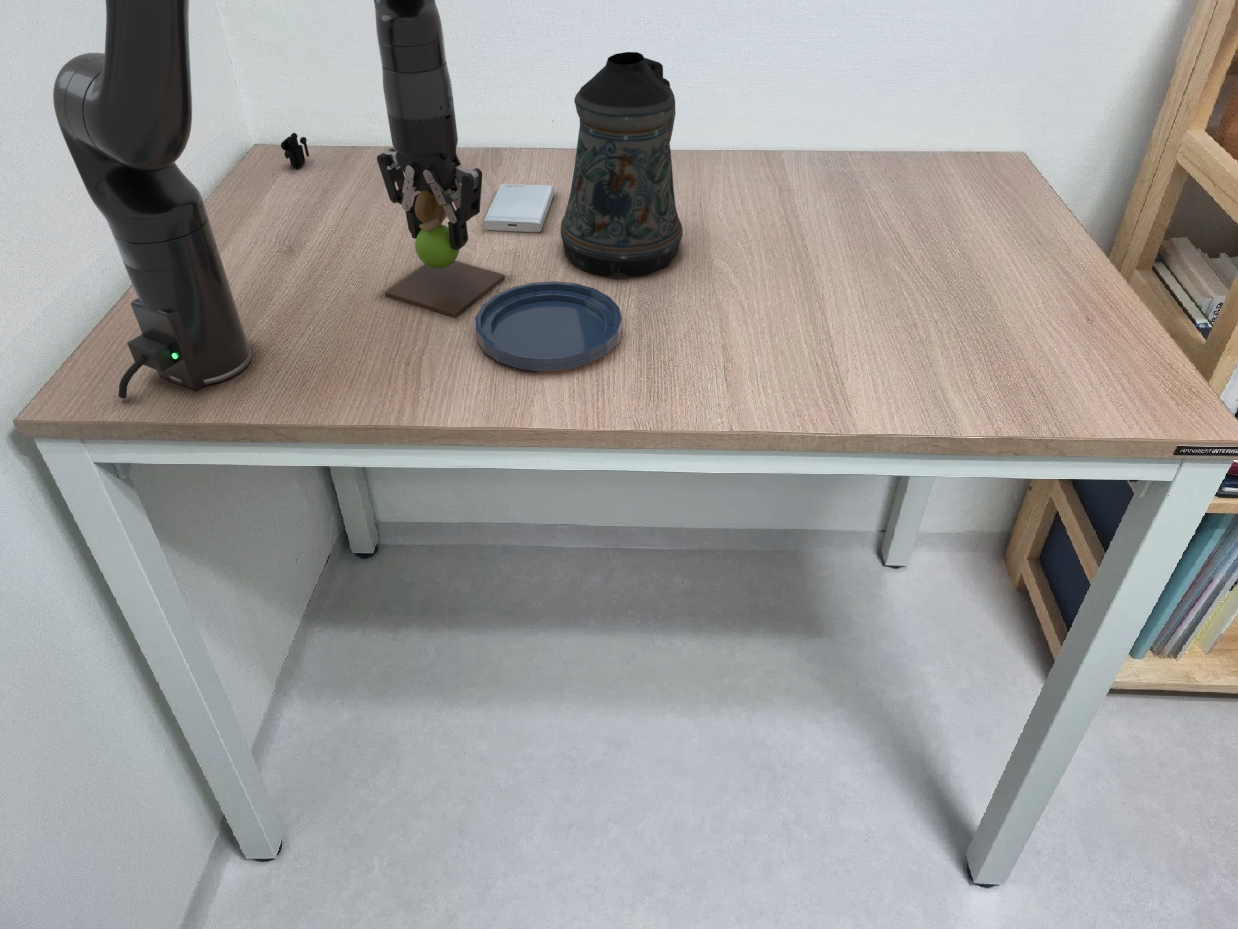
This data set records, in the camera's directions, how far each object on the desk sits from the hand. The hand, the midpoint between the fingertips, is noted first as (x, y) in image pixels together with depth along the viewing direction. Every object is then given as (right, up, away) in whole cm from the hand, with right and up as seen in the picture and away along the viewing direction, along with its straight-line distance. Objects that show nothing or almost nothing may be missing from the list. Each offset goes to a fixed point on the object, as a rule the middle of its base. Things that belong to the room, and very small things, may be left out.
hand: (439, 241), depth 114 cm
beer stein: (+23, +2, +13) cm, 26 cm away
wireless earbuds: (-30, +20, +33) cm, 49 cm away
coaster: (0, -5, +4) cm, 6 cm away
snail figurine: (0, -2, +2) cm, 3 cm away
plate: (+14, -12, -4) cm, 19 cm away
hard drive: (+8, +9, +21) cm, 24 cm away
